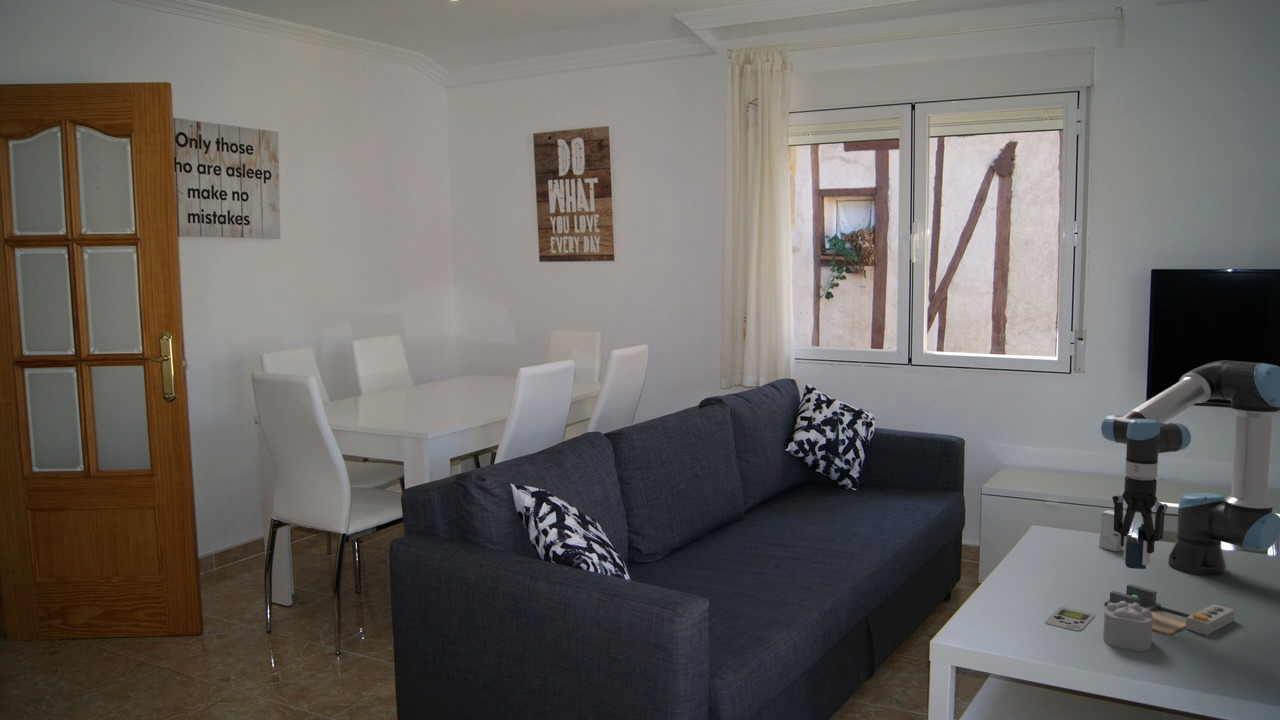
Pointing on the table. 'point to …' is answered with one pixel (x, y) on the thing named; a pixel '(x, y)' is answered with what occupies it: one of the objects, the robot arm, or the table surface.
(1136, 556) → the vaping device
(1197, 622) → the power strip
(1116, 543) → the skincare box
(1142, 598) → the frame
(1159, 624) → the mat
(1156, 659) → the table surface
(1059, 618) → the handheld gaming device
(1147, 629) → the lumpy-topped squat cylinder
